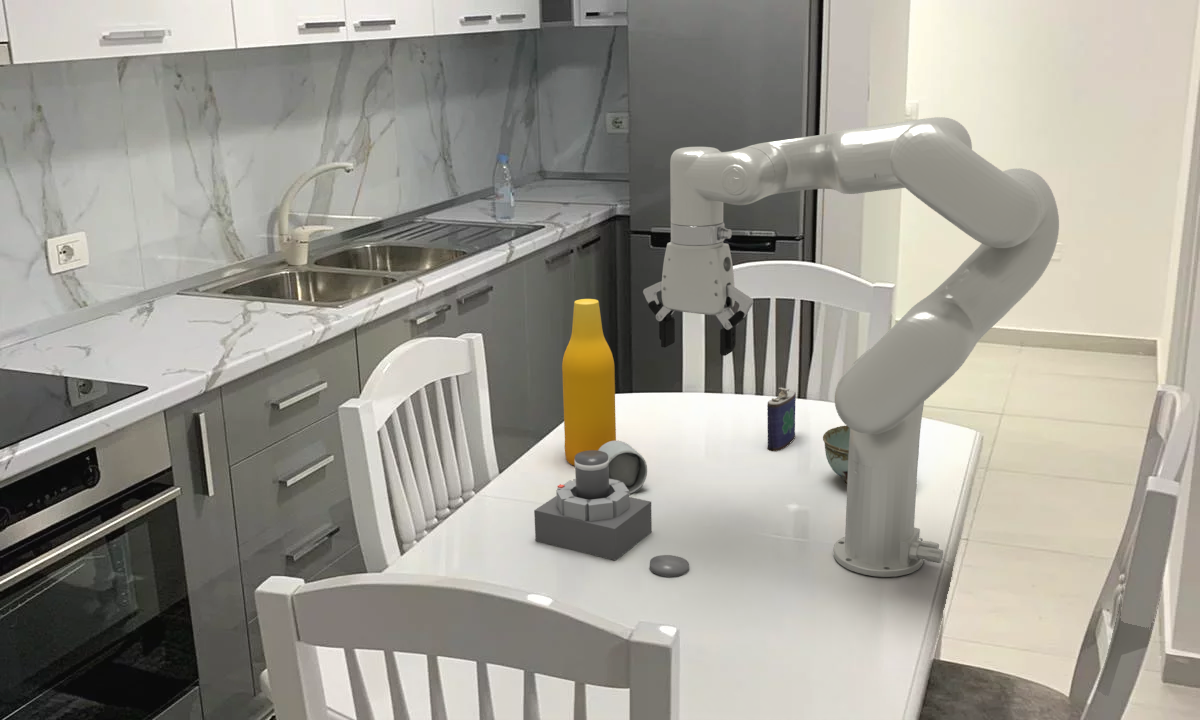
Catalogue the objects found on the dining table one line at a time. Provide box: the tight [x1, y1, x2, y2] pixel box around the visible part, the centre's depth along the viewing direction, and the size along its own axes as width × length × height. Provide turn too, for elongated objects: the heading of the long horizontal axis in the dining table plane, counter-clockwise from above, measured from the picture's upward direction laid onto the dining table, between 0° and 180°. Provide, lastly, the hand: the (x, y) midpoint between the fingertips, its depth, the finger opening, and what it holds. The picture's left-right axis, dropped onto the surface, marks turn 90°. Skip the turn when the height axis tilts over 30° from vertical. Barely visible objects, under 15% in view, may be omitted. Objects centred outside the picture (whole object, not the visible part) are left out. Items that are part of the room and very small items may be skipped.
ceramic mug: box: [598, 439, 648, 495], centre depth 192 cm, size 11×8×8 cm
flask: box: [766, 387, 797, 452], centre depth 209 cm, size 9×3×11 cm, turn 147°
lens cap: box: [649, 554, 690, 578], centre depth 164 cm, size 6×6×1 cm
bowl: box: [822, 425, 850, 486], centre depth 191 cm, size 14×13×8 cm
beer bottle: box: [561, 298, 617, 467], centre depth 202 cm, size 9×9×29 cm
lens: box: [574, 450, 610, 500], centre depth 172 cm, size 5×5×8 cm
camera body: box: [533, 478, 653, 561], centre depth 174 cm, size 14×11×8 cm
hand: (696, 349), depth 170 cm, fingers open, 9 cm apart
